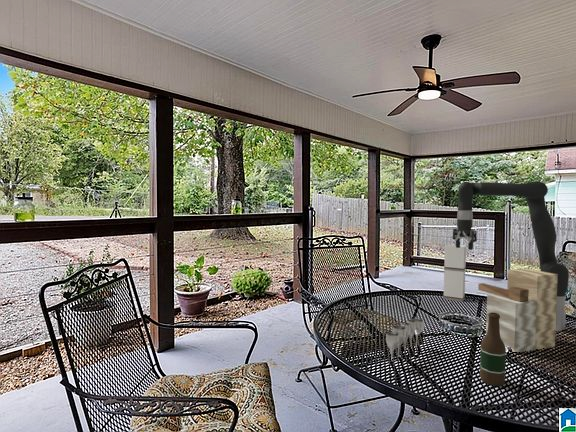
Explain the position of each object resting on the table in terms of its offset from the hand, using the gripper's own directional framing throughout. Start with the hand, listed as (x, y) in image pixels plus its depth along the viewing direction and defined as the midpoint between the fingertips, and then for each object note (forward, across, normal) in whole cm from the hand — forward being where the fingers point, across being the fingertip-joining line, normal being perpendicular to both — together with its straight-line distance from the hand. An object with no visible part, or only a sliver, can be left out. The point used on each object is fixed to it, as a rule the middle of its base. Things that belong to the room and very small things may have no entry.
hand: (463, 248), depth 192 cm
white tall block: (+38, +34, -27) cm, 58 cm away
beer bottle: (+38, -58, +44) cm, 82 cm away
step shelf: (+38, -36, +3) cm, 53 cm away
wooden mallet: (+17, -31, +9) cm, 36 cm away
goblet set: (+38, -31, +60) cm, 78 cm away
